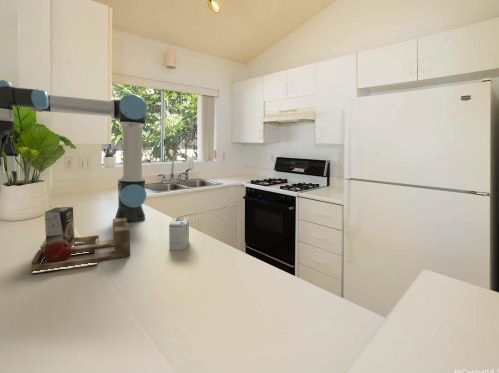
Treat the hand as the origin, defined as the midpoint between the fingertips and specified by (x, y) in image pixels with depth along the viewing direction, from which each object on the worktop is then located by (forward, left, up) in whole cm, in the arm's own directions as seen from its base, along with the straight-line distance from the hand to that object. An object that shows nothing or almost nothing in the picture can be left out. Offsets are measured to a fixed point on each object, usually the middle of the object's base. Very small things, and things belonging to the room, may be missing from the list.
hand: (6, 172), depth 115 cm
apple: (-21, +39, -28) cm, 52 cm away
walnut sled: (-29, +39, -27) cm, 56 cm away
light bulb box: (-63, +36, -28) cm, 78 cm away
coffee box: (-21, +25, -28) cm, 43 cm away
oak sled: (-29, +25, -27) cm, 47 cm away
